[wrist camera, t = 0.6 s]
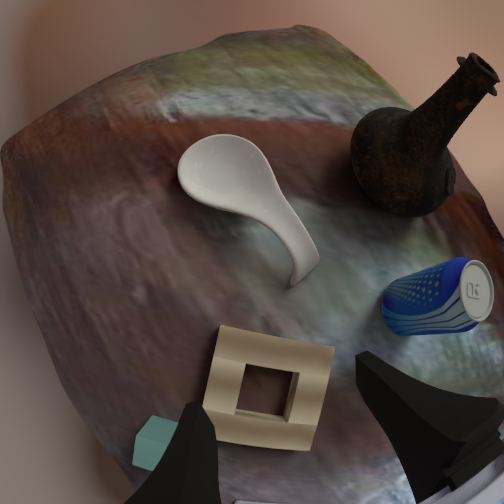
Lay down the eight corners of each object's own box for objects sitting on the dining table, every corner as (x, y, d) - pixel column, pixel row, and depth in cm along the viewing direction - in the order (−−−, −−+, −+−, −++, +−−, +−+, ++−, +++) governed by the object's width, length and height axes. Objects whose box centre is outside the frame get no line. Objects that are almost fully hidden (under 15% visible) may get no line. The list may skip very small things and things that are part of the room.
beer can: (399, 268, 39) (473, 236, 24) (428, 308, 38) (504, 291, 23) (366, 306, 37) (443, 288, 22) (398, 347, 36) (478, 347, 21)
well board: (303, 442, 31) (309, 450, 28) (197, 427, 30) (196, 435, 28) (326, 345, 35) (335, 346, 32) (220, 325, 34) (220, 324, 32)
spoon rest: (165, 175, 39) (156, 147, 32) (228, 135, 42) (230, 105, 35) (273, 304, 36) (286, 298, 29) (334, 248, 39) (356, 232, 32)
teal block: (177, 448, 29) (168, 475, 22) (148, 440, 29) (132, 464, 21) (182, 423, 30) (173, 446, 23) (152, 415, 30) (136, 435, 23)
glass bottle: (393, 250, 40) (540, 163, 13) (315, 165, 42) (398, 15, 15) (437, 192, 45) (538, 111, 18) (373, 123, 47) (446, 15, 20)
